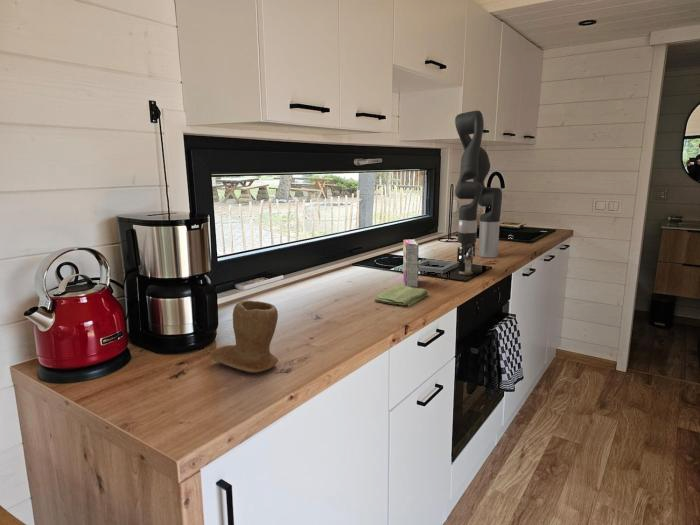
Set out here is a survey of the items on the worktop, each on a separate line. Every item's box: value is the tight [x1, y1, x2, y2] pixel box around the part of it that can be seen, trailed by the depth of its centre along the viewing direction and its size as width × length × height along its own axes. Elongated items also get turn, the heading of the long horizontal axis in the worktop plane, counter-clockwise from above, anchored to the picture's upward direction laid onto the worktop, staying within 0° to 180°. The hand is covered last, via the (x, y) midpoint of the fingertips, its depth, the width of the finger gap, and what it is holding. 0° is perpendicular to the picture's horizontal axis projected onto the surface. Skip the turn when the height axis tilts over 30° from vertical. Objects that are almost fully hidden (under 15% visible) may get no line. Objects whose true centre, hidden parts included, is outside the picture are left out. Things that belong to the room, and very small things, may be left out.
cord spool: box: [458, 256, 474, 276], centre depth 199 cm, size 6×6×7 cm
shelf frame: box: [418, 258, 459, 275], centre depth 209 cm, size 17×15×2 cm
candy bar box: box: [402, 238, 419, 288], centre depth 183 cm, size 11×5×16 cm, turn 179°
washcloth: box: [374, 284, 429, 308], centre depth 164 cm, size 13×18×3 cm
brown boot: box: [208, 300, 279, 374], centre depth 111 cm, size 15×12×15 cm
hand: (465, 269), depth 199 cm, fingers open, 8 cm apart
